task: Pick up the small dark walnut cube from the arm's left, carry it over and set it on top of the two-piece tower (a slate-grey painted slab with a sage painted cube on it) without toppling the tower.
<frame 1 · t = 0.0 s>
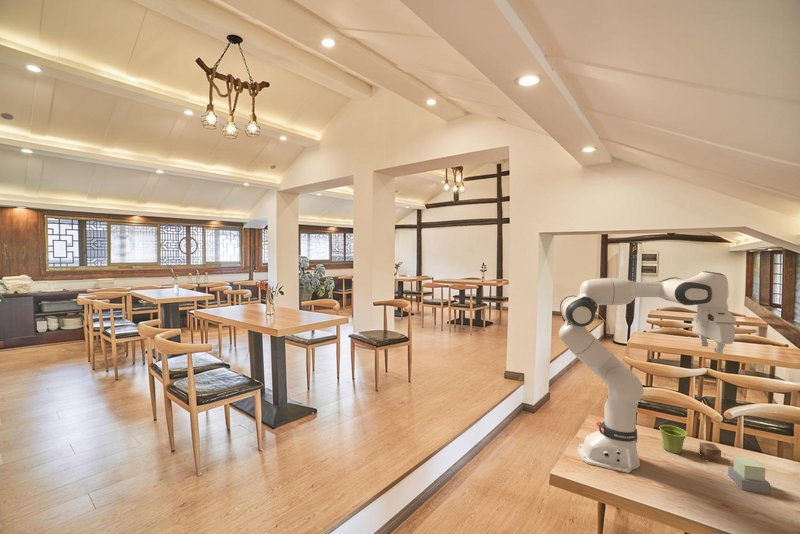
hand: (711, 349, 135), 48 cm above the table, fingers open, 8 cm apart
plant pot: (672, 450, 152), on the table
tower cube: (748, 475, 129), point 4 cm above the table
base slab: (747, 485, 129), on the table
walnut cube: (709, 458, 146), on the table
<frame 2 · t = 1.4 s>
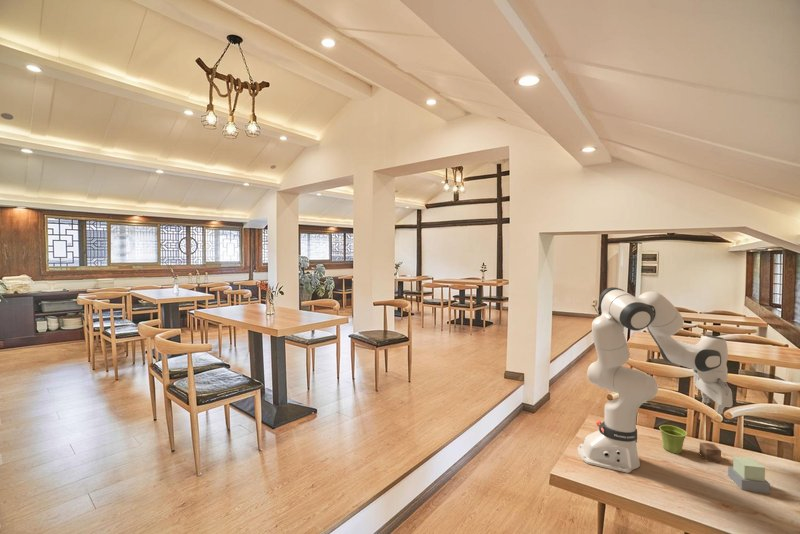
hand: (712, 407, 144), 22 cm above the table, fingers open, 8 cm apart
tower cube: (748, 475, 129), point 4 cm above the table, touching base slab
base slab: (747, 485, 129), on the table, touching tower cube
everything else where it was.
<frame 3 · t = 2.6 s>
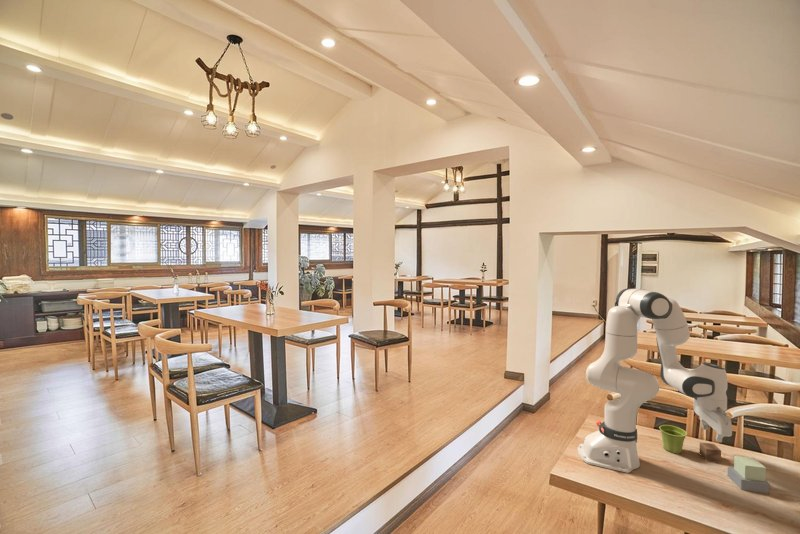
hand: (711, 434, 146), 10 cm above the table, fingers open, 8 cm apart
nothing on the table moved.
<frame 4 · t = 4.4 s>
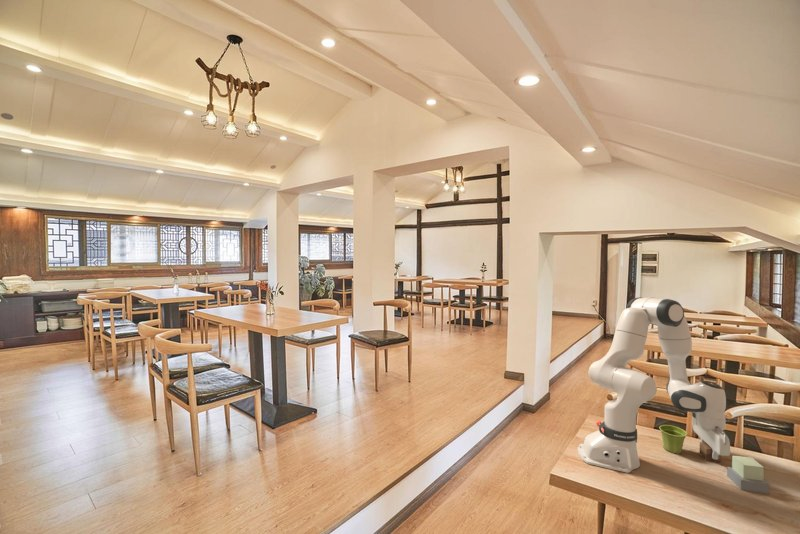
hand: (709, 453, 146), 2 cm above the table, fingers closed on walnut cube, 5 cm apart
walnut cube: (709, 457, 146), on the table, touching gripper
everything else where it was.
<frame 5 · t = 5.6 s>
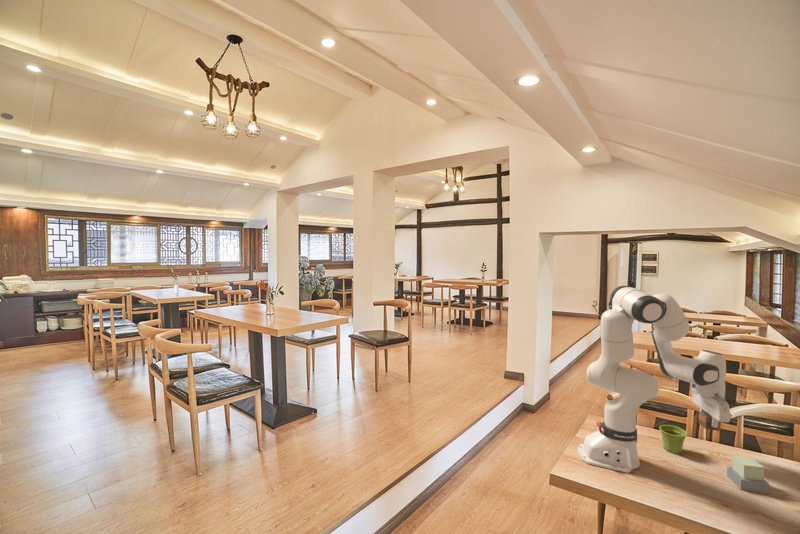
hand: (709, 423, 145), 15 cm above the table, fingers closed on walnut cube, 5 cm apart
tower cube: (747, 474, 129), point 4 cm above the table
base slab: (746, 485, 129), on the table
walnut cube: (709, 427, 145), point 13 cm above the table, touching gripper
everything else where it was.
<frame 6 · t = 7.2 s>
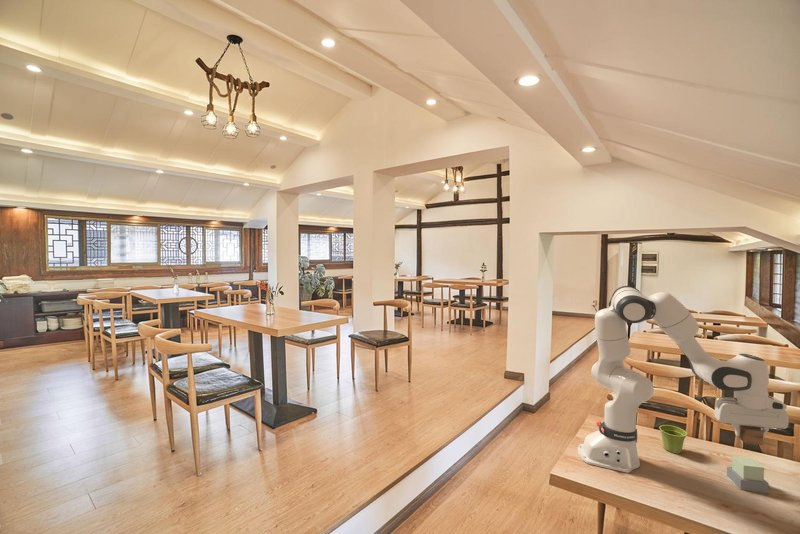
hand: (749, 436, 128), 18 cm above the table, fingers closed on walnut cube, 5 cm apart
tower cube: (747, 474, 129), point 4 cm above the table, touching base slab
base slab: (746, 485, 130), on the table, touching tower cube
walnut cube: (749, 440, 128), point 17 cm above the table, touching gripper
everything else where it was.
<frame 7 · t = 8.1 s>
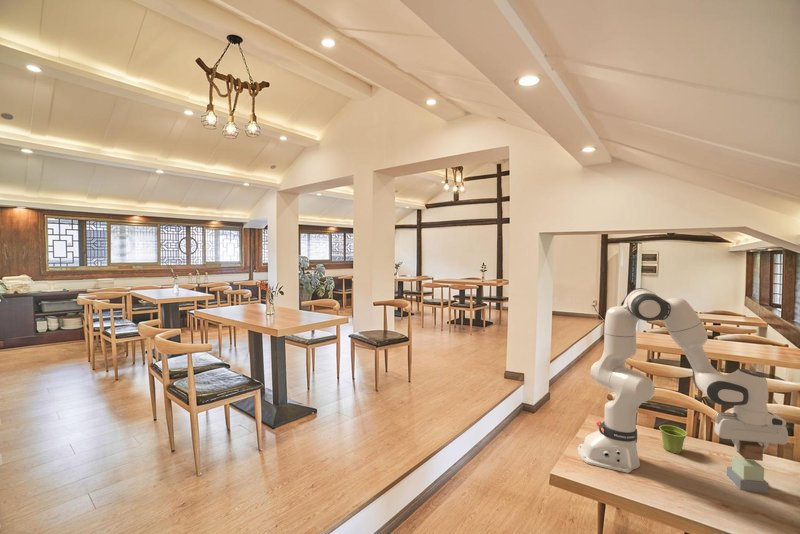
hand: (749, 451, 129), 12 cm above the table, fingers closed on walnut cube, 5 cm apart
tower cube: (747, 475, 129), point 4 cm above the table
base slab: (746, 485, 130), on the table
walnut cube: (749, 455, 129), point 11 cm above the table, touching gripper
everything else where it was.
when the fingers open (12 cm above the table, at t = 9.1 s): walnut cube drops 1 cm, resting on tower cube.
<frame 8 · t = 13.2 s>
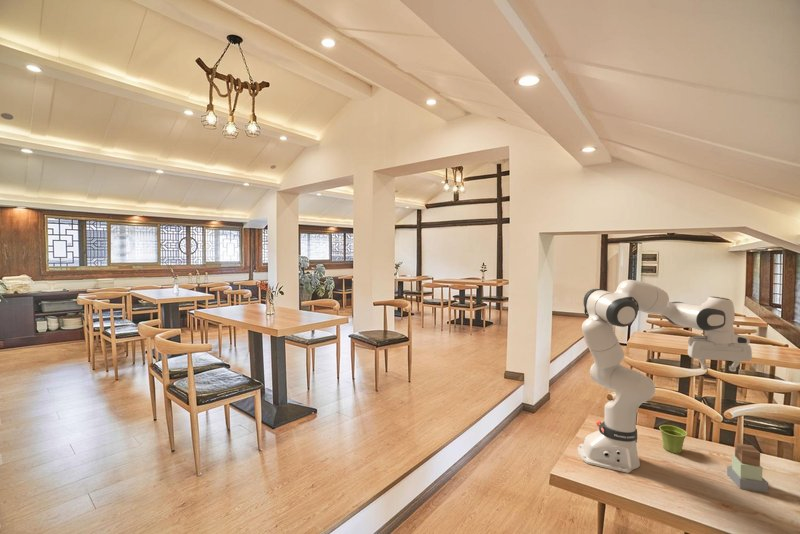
hand: (718, 370, 143), 37 cm above the table, fingers open, 8 cm apart
tower cube: (746, 474, 129), point 4 cm above the table, touching base slab, walnut cube
base slab: (746, 484, 130), on the table, touching tower cube
walnut cube: (747, 461, 129), point 9 cm above the table, touching tower cube
everything else where it was.
at the end: walnut cube 0.2 cm off-centre on the tower cube, point 5.0 cm above the tower cube's base; tower cube tilted 0°; walnut cube tilted 0° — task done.
